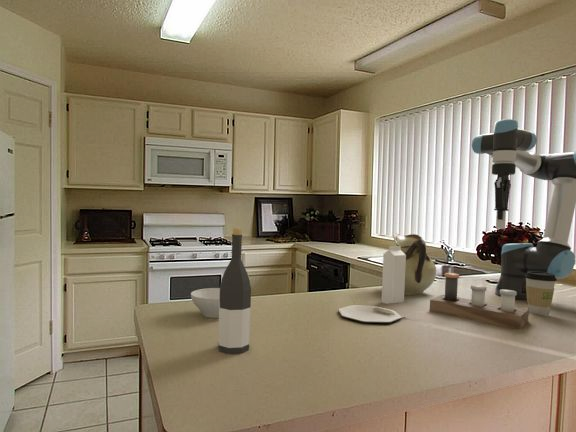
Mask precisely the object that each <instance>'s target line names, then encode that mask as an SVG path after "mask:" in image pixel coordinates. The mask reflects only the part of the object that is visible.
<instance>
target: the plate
mask: <svg viewBox="0 0 576 432" xmlns="http://www.w3.org/2000/svg"><path fill="white" fill-rule="evenodd" d="M375 309H381V310H385V311H390V312H392V313H393V314H392V313H388V312H384V311H380V310H375ZM337 311H338V312H339V313H340V316H341V317H342V318H345V319H349V320H351V321H352V320H353V321H355V322H356V321H357V322H360V323H365V324H366V323H371V324H375V323H376V324H391V323H393V322H396V321H398V320H401V319H402V315H400V314H399V313H398V312H397V311H395V310H394V309H390V308H385V307H380V306H377V305H358V304H357V305H356V304H352V305H348V306H344V307H340V308H338V310H337Z"/></svg>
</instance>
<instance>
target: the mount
mask: <svg viewBox="0 0 576 432" xmlns="http://www.w3.org/2000/svg"><path fill="white" fill-rule="evenodd" d="M471 299H472V298H465V297H459V296H457V301H449V300H445V294H441V295H438V296H435V297H433V298H431V299H430V300H429V312H432V313H439V314H442V315H448V316H451V317H457V318H461V319H467V320H471V321H477V322H481V323H485V324H486V323H487V324H490V325H497V326H500V327H505V328H510V329H516V330H521V329H522V328H523V327H524V326H525V325H526V324H527V323H529V309H527V308H523V307H522V308H521V307H516V306H515V307H514V312H508V311H503V310H500V304H501V303H493V302H486V301H484V307H481V306H475V305H471Z"/></svg>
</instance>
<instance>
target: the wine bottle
mask: <svg viewBox="0 0 576 432" xmlns="http://www.w3.org/2000/svg"><path fill="white" fill-rule="evenodd" d="M231 237H232V238H231V259H230V261H229V263H228V265H227V267H226V268H225V270H224V272H223V275H222V276H221V281H220V286H219V288H220V300H219V318H218V333H217V336H218V337H217V340H218V341H217V344H218V352H220V353H224V354H226V355H235V354H236V355H239V354H243V353H245V352H247V351H249V349H250V338H251V337H250V336H251V335H250V333H251V332H250V331H251V306H252V305H251V304H252V303H251V301H252V287H251V281H250V278H249V275H248V271H247V270H246V267H245V265H244V263H243V260H242V243H243V241H242V240H243V234H242V228H233V229H232V234H231Z"/></svg>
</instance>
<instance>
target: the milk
mask: <svg viewBox="0 0 576 432" xmlns="http://www.w3.org/2000/svg"><path fill="white" fill-rule="evenodd" d="M382 259H383V261H382V276H381V278H382V280H381V285H382V286H381V303H383V304H386V305H389V304H397V303H404V302H405V295H404V288H405V266H406V255H405V254H404V253H403V252H402V251H401V246H397V245H391V246H389V247H388V250H387V251H386V252H384V253H383V256H382Z"/></svg>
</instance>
